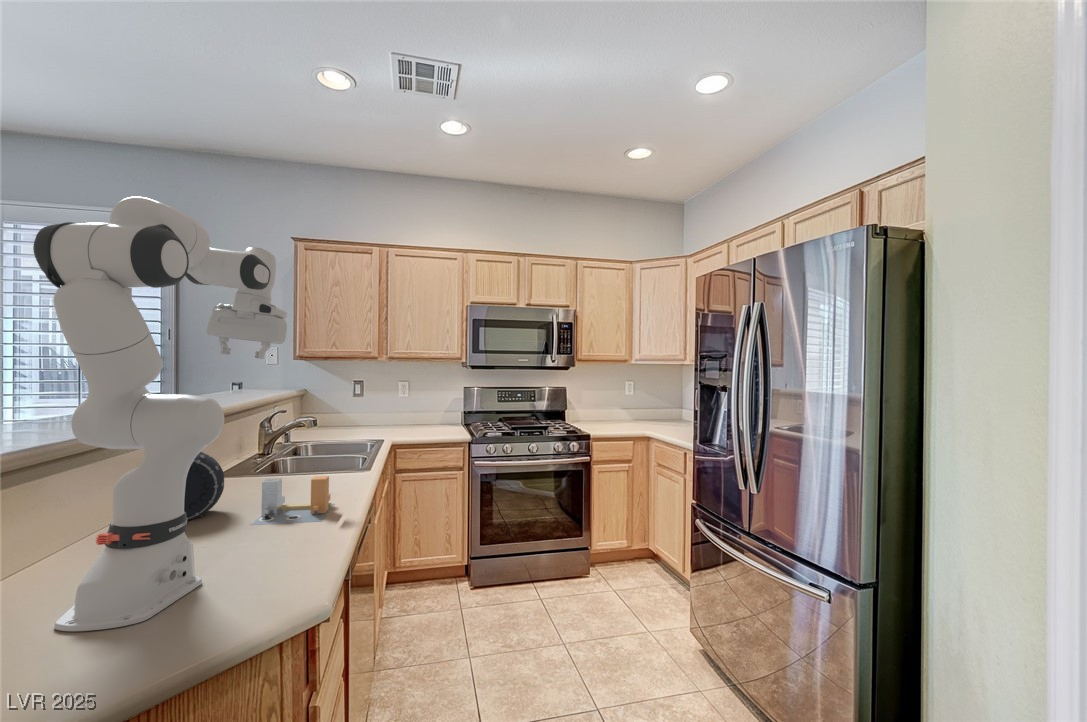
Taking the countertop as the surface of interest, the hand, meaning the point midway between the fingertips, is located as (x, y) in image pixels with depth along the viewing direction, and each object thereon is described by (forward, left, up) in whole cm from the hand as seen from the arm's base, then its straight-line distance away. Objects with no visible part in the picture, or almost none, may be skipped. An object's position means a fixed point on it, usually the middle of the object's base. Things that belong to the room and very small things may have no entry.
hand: (242, 356), depth 130 cm
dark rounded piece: (+9, +18, -47) cm, 51 cm away
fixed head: (+8, -6, -46) cm, 47 cm away
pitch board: (+7, -13, -47) cm, 49 cm away
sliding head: (+8, -19, -46) cm, 50 cm away
